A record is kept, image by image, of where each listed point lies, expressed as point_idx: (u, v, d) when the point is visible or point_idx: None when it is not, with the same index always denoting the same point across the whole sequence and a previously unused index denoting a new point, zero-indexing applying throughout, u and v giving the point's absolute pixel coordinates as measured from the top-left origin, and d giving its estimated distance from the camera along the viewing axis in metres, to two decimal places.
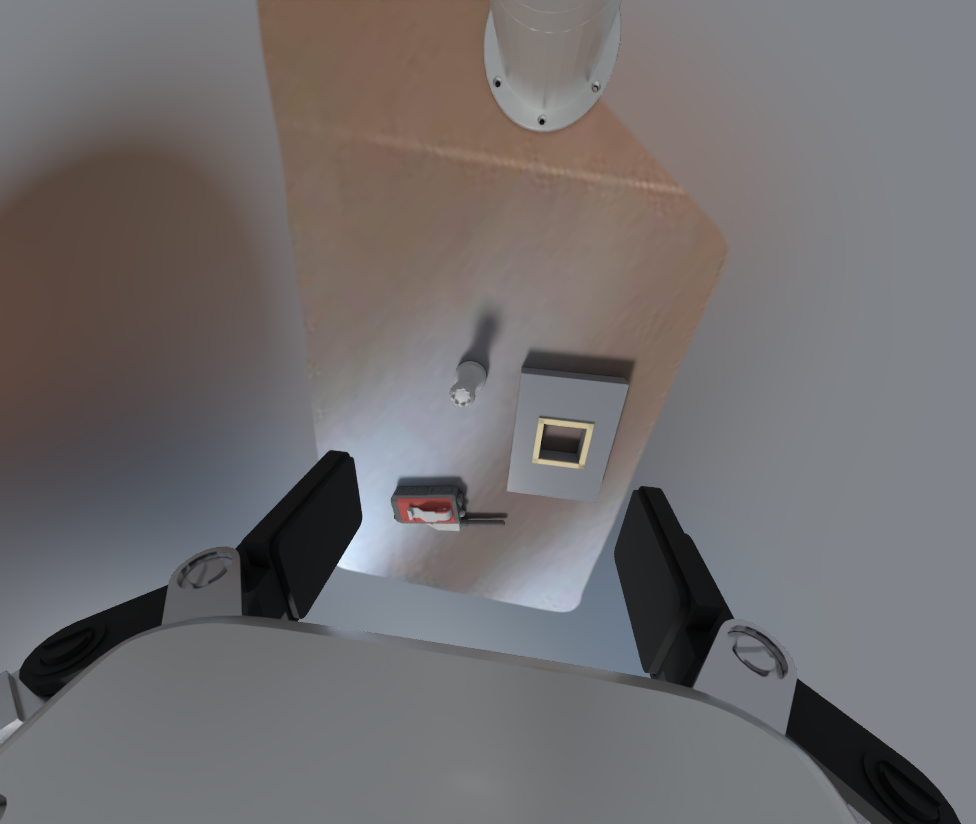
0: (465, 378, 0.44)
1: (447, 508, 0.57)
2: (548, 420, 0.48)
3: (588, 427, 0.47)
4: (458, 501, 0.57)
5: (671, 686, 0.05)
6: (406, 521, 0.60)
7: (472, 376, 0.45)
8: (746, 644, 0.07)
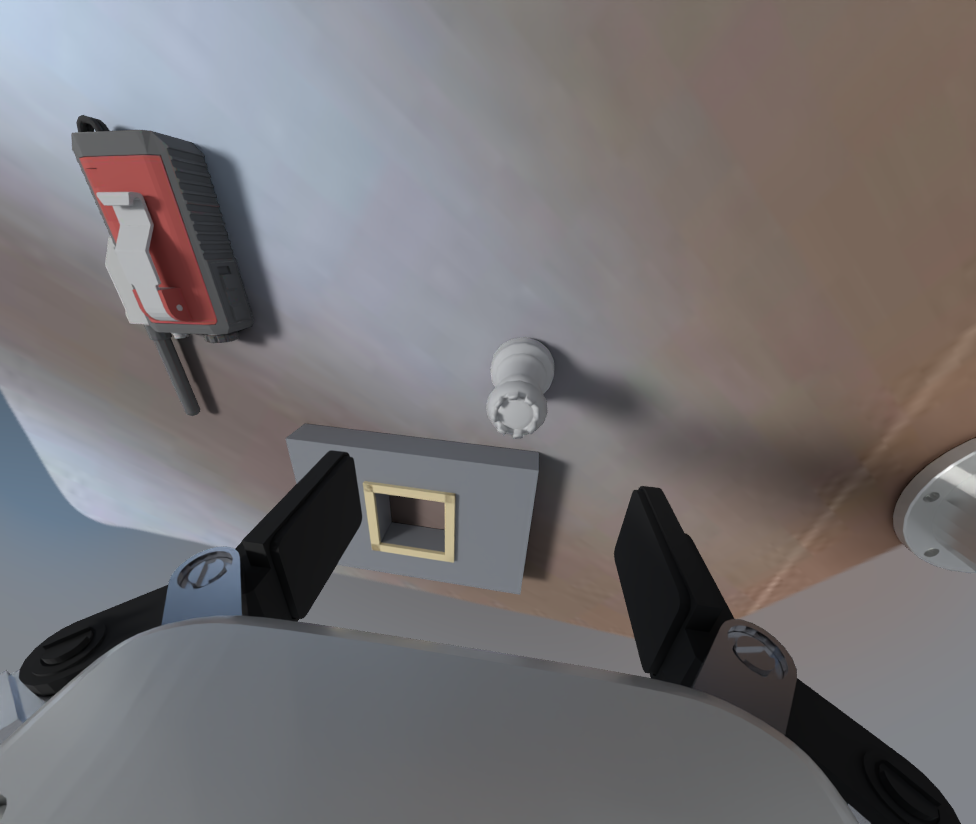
0: None
1: (185, 314, 0.23)
2: (452, 508, 0.28)
3: (447, 556, 0.30)
4: (214, 336, 0.25)
5: (671, 686, 0.05)
6: (86, 170, 0.20)
7: None
8: (746, 644, 0.07)
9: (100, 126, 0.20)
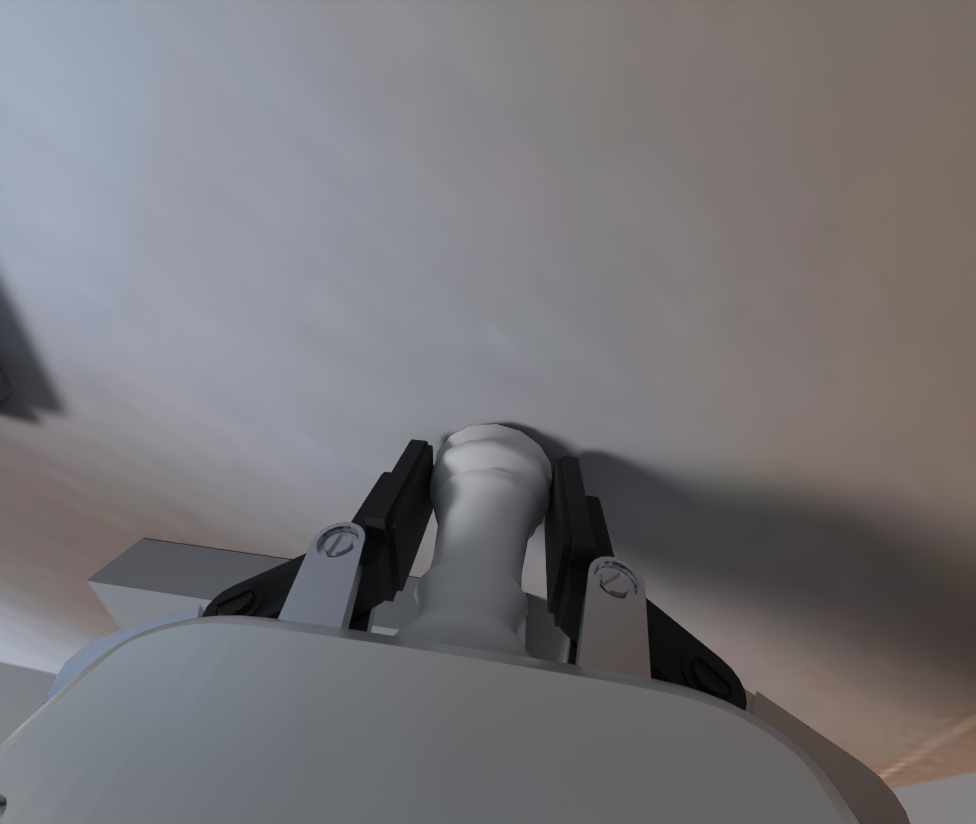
0: None
1: None
2: None
3: None
4: None
5: (671, 686, 0.05)
6: None
7: None
8: (608, 576, 0.08)
9: None
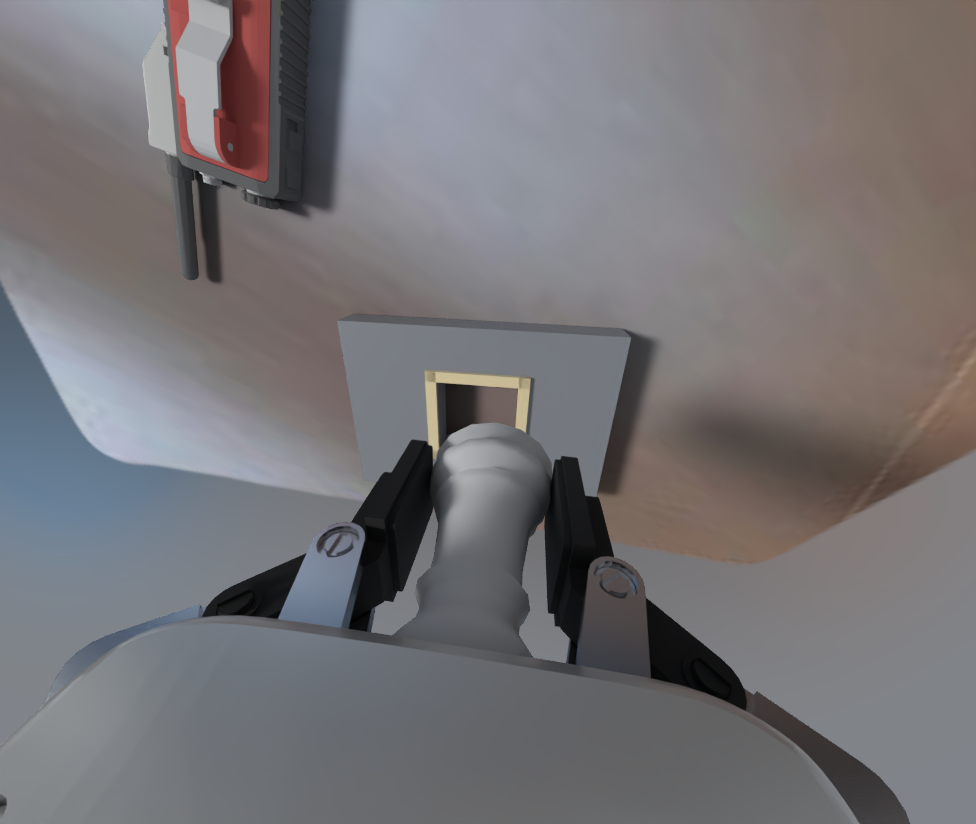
0: None
1: (233, 157, 0.20)
2: (526, 396, 0.25)
3: None
4: (255, 196, 0.22)
5: (671, 686, 0.05)
6: None
7: None
8: (608, 576, 0.08)
9: None
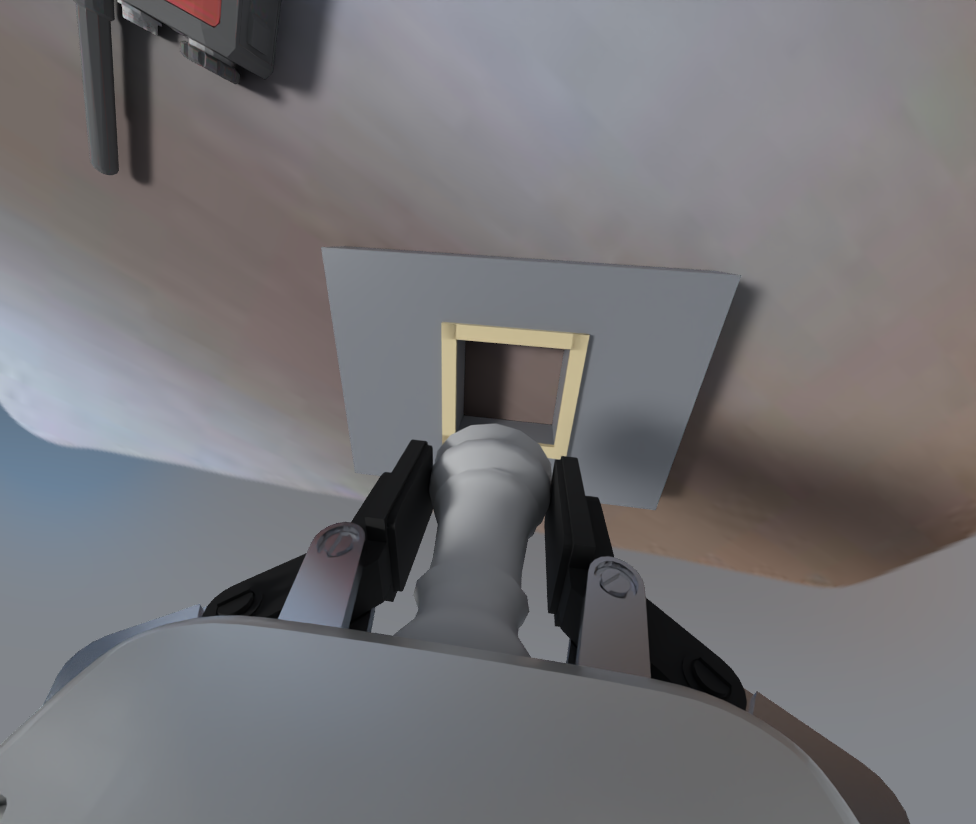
0: (521, 576, 0.09)
1: None
2: (580, 360, 0.18)
3: (558, 449, 0.20)
4: (200, 51, 0.15)
5: (671, 686, 0.05)
6: None
7: None
8: (608, 576, 0.08)
9: None
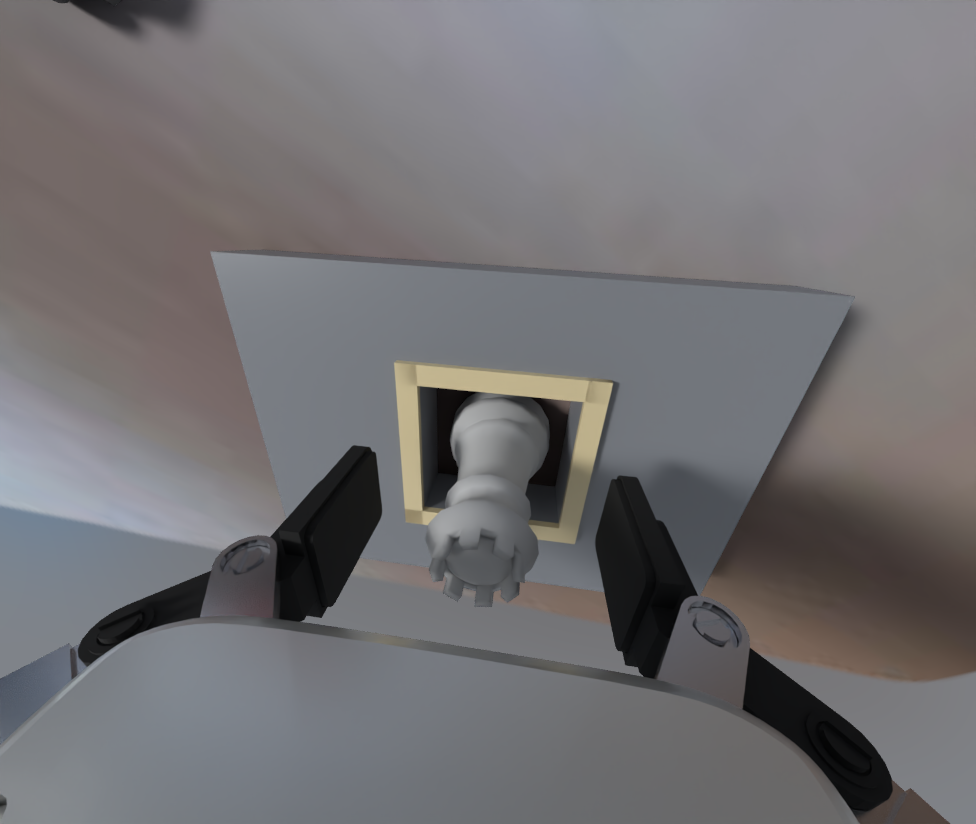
0: (524, 494, 0.12)
1: None
2: (599, 417, 0.12)
3: (564, 531, 0.15)
4: None
5: (671, 686, 0.05)
6: None
7: None
8: (704, 618, 0.07)
9: None
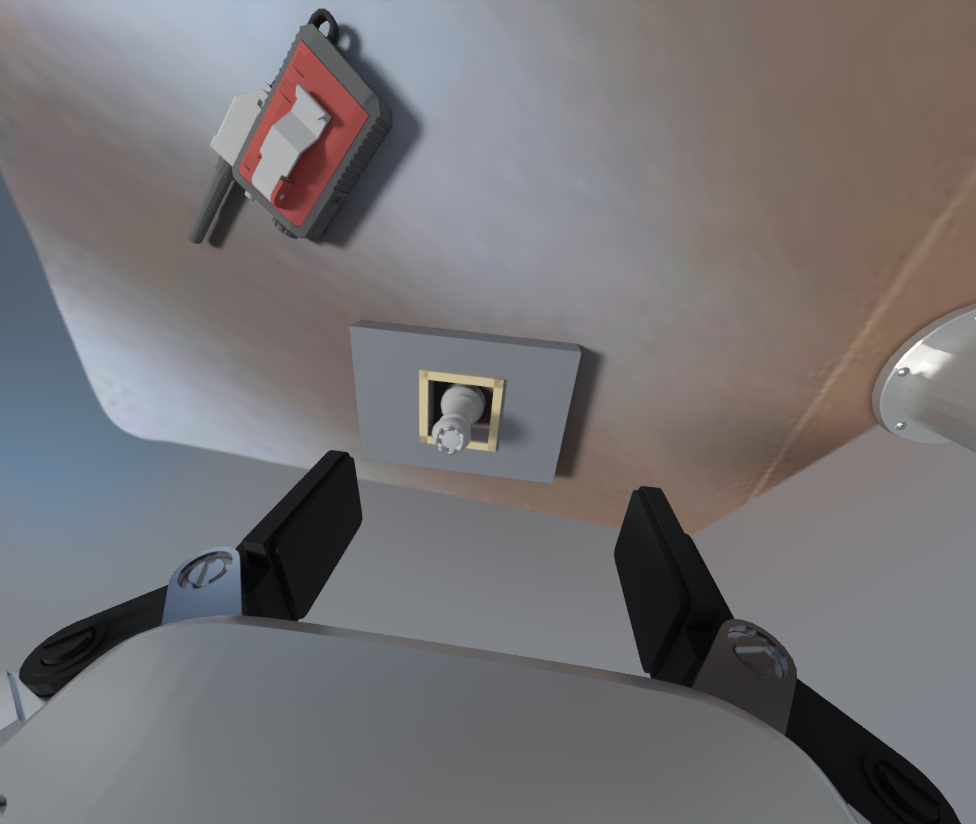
0: (469, 422, 0.30)
1: (280, 202, 0.25)
2: (500, 393, 0.31)
3: (490, 445, 0.33)
4: (284, 227, 0.27)
5: (671, 686, 0.05)
6: (298, 51, 0.22)
7: (471, 422, 0.32)
8: (746, 644, 0.07)
9: (334, 30, 0.22)
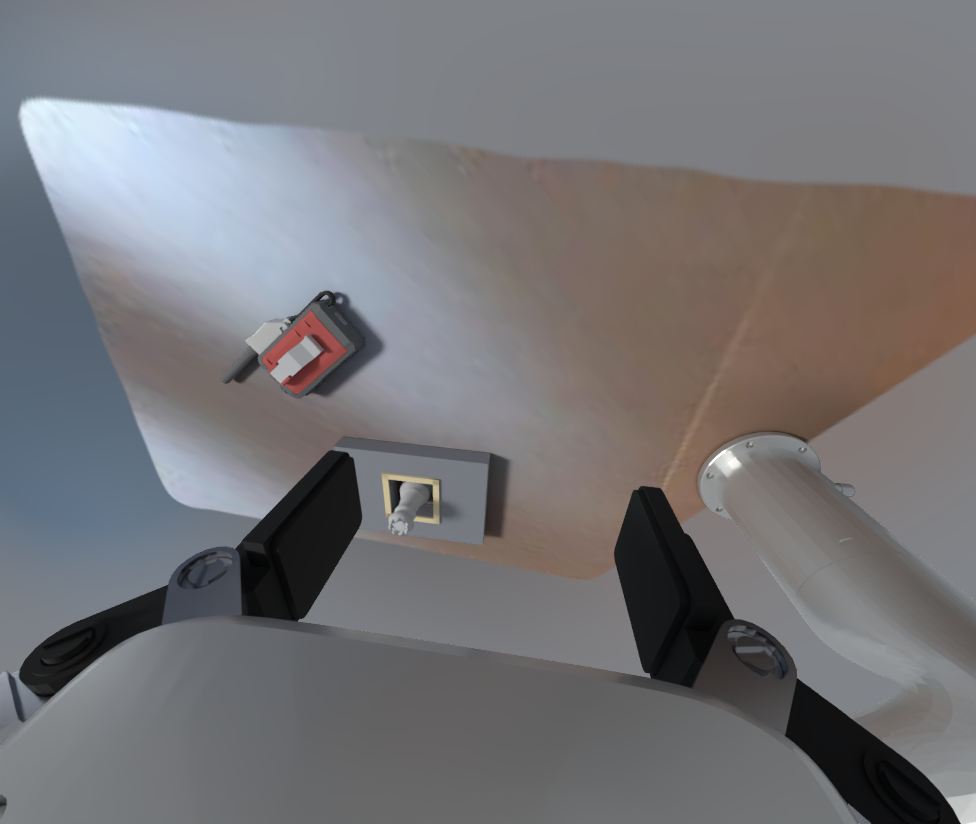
0: (416, 509, 0.44)
1: (286, 382, 0.40)
2: (437, 488, 0.45)
3: (435, 520, 0.47)
4: None
5: (671, 686, 0.05)
6: (308, 314, 0.36)
7: (419, 506, 0.46)
8: (746, 644, 0.07)
9: (332, 301, 0.37)
